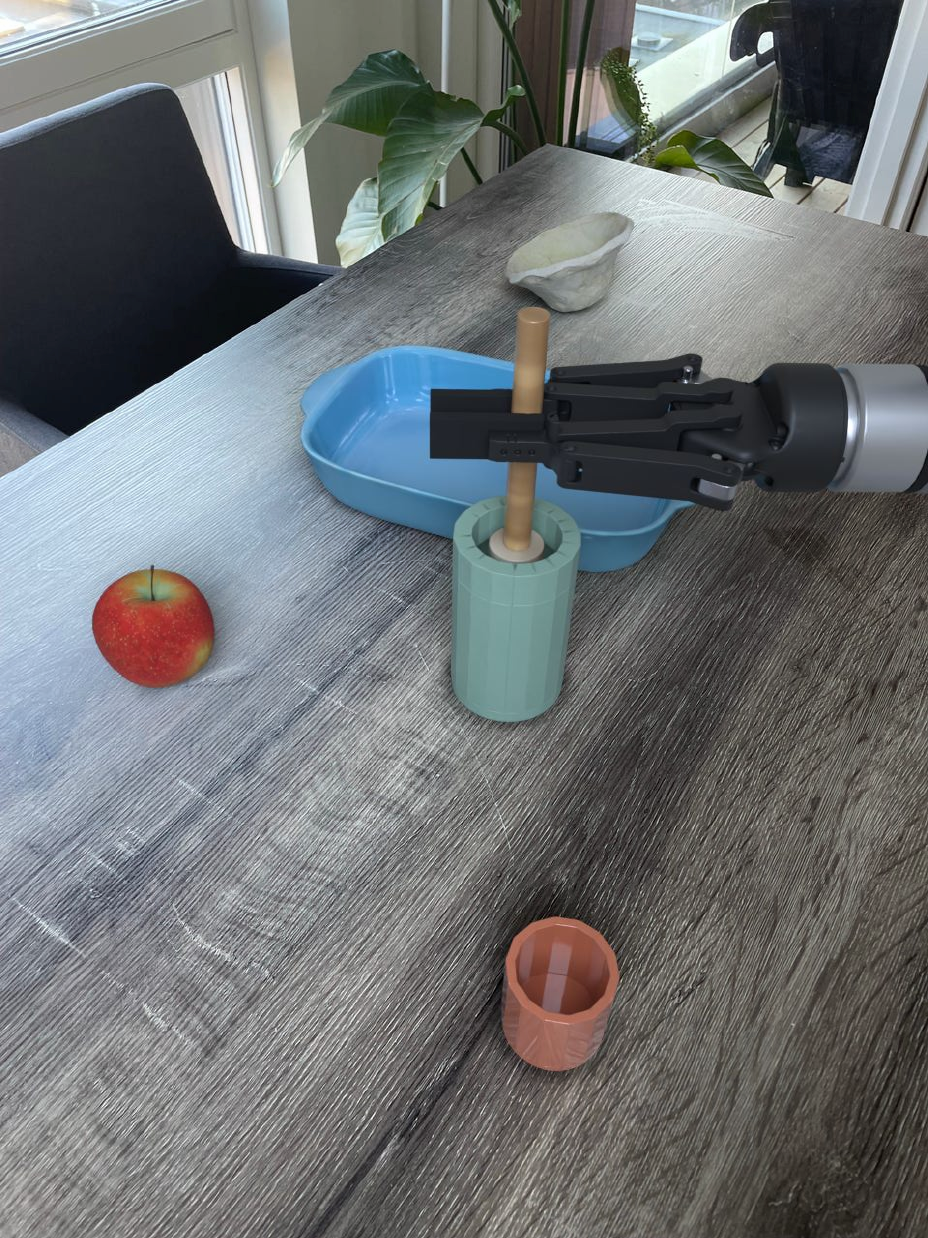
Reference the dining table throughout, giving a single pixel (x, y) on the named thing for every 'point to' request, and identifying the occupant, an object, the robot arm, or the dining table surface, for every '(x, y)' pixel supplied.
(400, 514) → the casserole dish
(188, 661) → the apple
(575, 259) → the bowl
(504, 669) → the green cylindrical holder
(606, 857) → the dining table surface
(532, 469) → the tan long rod
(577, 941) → the cup
